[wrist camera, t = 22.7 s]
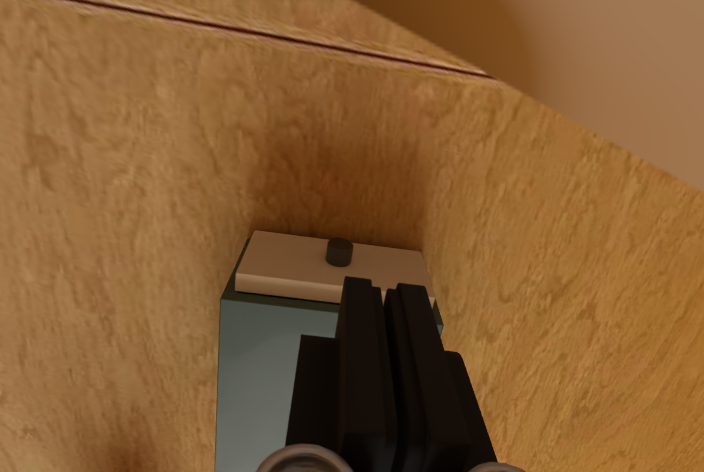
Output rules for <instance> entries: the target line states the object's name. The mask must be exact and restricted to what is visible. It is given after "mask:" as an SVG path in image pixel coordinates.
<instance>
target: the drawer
mask: <svg viewBox="0 0 704 472" xmlns="http://www.w3.org/2000/svg"><path fill="white" fill-rule="evenodd" d="M345 276H350V277H358V278H366V279H371V281H372V286H375V287H381V294H382V301H383V304H384V299H385V295H386V291H387V289H388V288H391V289H396V286H397V284H398V283H406V284H414V285H422V286H425V287H426V290H427V293H428V297H429V300H430V303H431V307H432V308H433V305H434V301H435V295H434V292H433V289H432V285H431V282H430V279H429V276H428V273H427V270H426V267H425V263H424V260H423V257H422V254H421V252H420V251H412V250H404V249H396V248H389V247H381V246H373V245H366V244H358V243H351V242H350V241H348V240H345V239H340V238H334V239H331V240H327V239H319V238H312V237H304V236H296V235H289V234H281V233H273V232H266V231H258V230H254V233H253V235H252V237H251V240H250V242H249V244H248V246H247V249H246V251H245V253H244V255H243V258H242V260H241V262H240V265H239V267H238V269H237V271H236V278H235V291H241V292H250V293H252V295H259V296H268V297H276V298H284V299H293V300H296V299H299V298H300V299H308V300H316V301H325V302H332V303H331V304H334V305H340V301H341V295H342V289H343V283H344V278H345Z"/></svg>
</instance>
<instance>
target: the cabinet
mask: <svg viewBox="0 0 704 472" xmlns="http://www.w3.org/2000/svg"><path fill="white" fill-rule="evenodd" d="M249 242H250V239H247V241H246V243H245V246H244V248H243V250H242V252H241V255H240V257H239V259H238V261H237V263H236V266H235V268H234V270H233V272H232V274H231V277H230V279H229V281H228V283H227V286H226V288H225V290H224V292H223V294H222V296H221V298H220V321H219V351H218V382H217V412H216V443H215V472H256V470H257V469H258V467H259V465H260V463H261V462H263V461H264V460H265V459H266V458H267V457H268V456H269V455H270V454H271V453H273V452H275V451H277V450H279V449H281V448H283V447H285V442H286V435H287V428H288V421H289V414H290V407H291V401H292V394H293V387H294V380H295V373H296V366H297V359H298V352H299V346H300V339H301V334H303V335H312V336H321V337H330V338H335V332H336V326H337V319H338V313H339V307H340V305H334V304H326V303H318V302H309V301H301V300H293V299H284V298H276V297H268V296H259V295H252V293H250V292H241V291H235V278H236V271H237V269H238V267H239V265H240V262H241V260H242V258H243V255H244V253H245V251H246V249H247V246H248V244H249ZM432 310H433V314H434V317H435V320H436V324H437V327H438V331H439V334H440V336H441V333H442V329H443V326H444V325H443V322H442V318H441V315H440V312H439V309H438V306H437V303H436V300H435V301H434V305H433V308H432Z"/></svg>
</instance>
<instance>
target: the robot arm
mask: <svg viewBox="0 0 704 472" xmlns="http://www.w3.org/2000/svg"><path fill="white" fill-rule="evenodd" d="M256 472H525V471H524V470H522V469H520V468H517V467H514V466H512V465H509V464H506V463H498V461H497V458H496V455H495V452H494V450H493V447H492V444H491V441H490V438H489V435H488V432H487V429H486V426H485V423H484V420H483V417H482V414H481V411H480V408H479V406H478V403H477V400H476V397H475V394H474V391H473V388H472V385H471V382H470V379H469V376H468V373H467V370H466V367H465V364H464V362H463V359H462V357H461V355H460V354H459V353H458V352H452V351H444V348H443V344H442V341H441V337H440V334H439V331H438V327H437V324H436V320H435V317H434V314H433V310H432V307H431V303H430V300H429V297H428V293H427V290H426V287H425V286H422V285H414V284H406V283H398V284H397V286H396V289H391V288H388V289H387V291H386V295H385V299H384V304H383V301H382V294H381V287H375V286H372V281H371V279H366V278H358V277H350V276H345V278H344V283H343V289H342V295H341V301H340V307H339V313H338V319H337V326H336V332H335V338H330V337H321V336H312V335H303V334H301V339H300V346H299V352H298V359H297V366H296V373H295V380H294V387H293V394H292V401H291V407H290V414H289V421H288V428H287V435H286V442H285V447H283V448H281V449H279V450H277V451H275V452H273V453H271V454H270V455H269V456H268V457H267V458H266V459H265V460H264V461H263V462H261V463H260V465H259V467H258V469H257V470H256Z"/></svg>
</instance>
